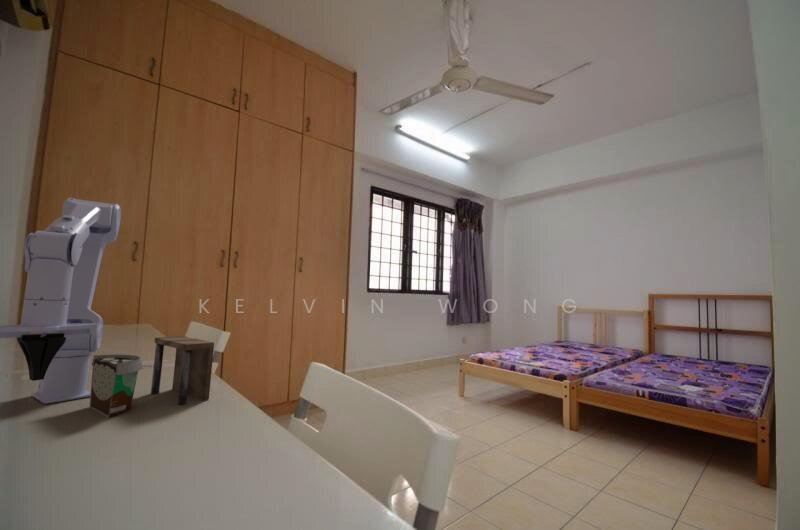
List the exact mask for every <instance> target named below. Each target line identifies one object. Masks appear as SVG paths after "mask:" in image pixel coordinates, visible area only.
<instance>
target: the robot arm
mask: <svg viewBox="0 0 800 530" xmlns="http://www.w3.org/2000/svg"><path fill="white" fill-rule="evenodd" d="M61 210H62V211H61V216H60V217H58V218H56V219H54V220H53V221H52V222H51V223H50V224H49V225H48V226H47V227H46V228H45V229H44V230H36V231H35V232H30V233H28V235H27V237H26V238H25V242H24V259H25V264H24V272H26V273H27V277H26V284H25V291H24V296H23V297H24V298H23V302H22V303H23V305H22V311H21V317H20V324H6V325H3V324H2V325H0V339H10V338H13V339H14V338H16V339H17V341H16V342H18V344H19V346H20V348H21V351H22V352H23V355H24V358H25V360H26V363H27V367H28V376H29V377H28V380H30V381H38V385H37V391H36V392H35V391H34V392H30V396H32V397H33V398H34V399H36V400H38V401H39V402H41V403H42V404H53V403H59V402H64V401H71V400H76V399H77V400H78V399H83V398H89V397H90V395H91V391H89V390H87V388H88V382H89V381H88V380H89V373H90V372H89V371H90V364H91V355H92V354H93V353H96V352H97V351H98V350H99V349H100V347H101V344H102V340H103V336H104V335H103V334H104V331H103V329H104V328H103V327H104V320H103V318H102V316H101V315H99V314H98V313H97V312H95V311H94V310H92V309H91V308H92V303H93V300H94V295H95V290H96V286H97V285H96V284H97V283H98V277H99V271H100V267H101V262H102V259H103V254H104V252H105V249H106V247H107V245H109V244H111V243H113V242H115V241H117V237H118V235H119V229H120V226H121V225H120V224H121V218H122V209H121V206H120V205H119V204H118V203H107V202H100V201H93V200H84V199H78V198H74V197H68V198H66V199H65V200H64V201H63V203H62V209H61ZM32 332H34V333H32Z"/></svg>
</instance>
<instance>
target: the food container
mask: <svg viewBox="0 0 800 530" xmlns="http://www.w3.org/2000/svg"><path fill="white" fill-rule="evenodd" d="M91 366H92V374H91V386H90V392H91V395H90V398H89V408H91V409H92V410H94V411H96V412H98V413H99V414H101V415H103V416H105V417H107V418H113V417H114V418H115V417H119V416H121V415H124V414H125V413H127V412H128V413H129V411H130V410H131V409H132V405H133V399H134V394H135V390H136V389H135V388H136V383H137V379H138V373H139V371H141V370H143V367H144V366H143V361H142V360H141V357H140V356H138V355H133V354H113V353H112V354H97V355H93V359H92V361H91Z"/></svg>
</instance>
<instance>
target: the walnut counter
mask: <svg viewBox="0 0 800 530" xmlns="http://www.w3.org/2000/svg"><path fill="white" fill-rule="evenodd" d="M154 344H155V350H154V351H155V352H154V360H153V370H152V379H151V389H150V395H159V394H160V388H161V379H162V371H163V370H162V368H163V362H164V361H163V359H164V352H165V346H166V347H170V348H175V349H176V350H175V358H174V359H175V360H174V368H173V378H172V388H171V389H172V390H173V391H176V392H178V397H177V398H178V399H177V405H178V406H186V405H187V404H188V403H187V402H188V396H190V397H192V396H193V398H195V397H196V399H198V398H199V399H198V400H201V399H202V400H201V401H204V400H206V401H208V400H207V399H209V400H210V391H211V390H210V389H211V380H212V371H213V370H212V368H213V358H214V349H215V341H214V342H213V341H209V340H203V339H198V338H193V337H188V336H184V335H179V336H178V335H177V336H175V335H174V336H164V337H161V336H160V337H154Z"/></svg>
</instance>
